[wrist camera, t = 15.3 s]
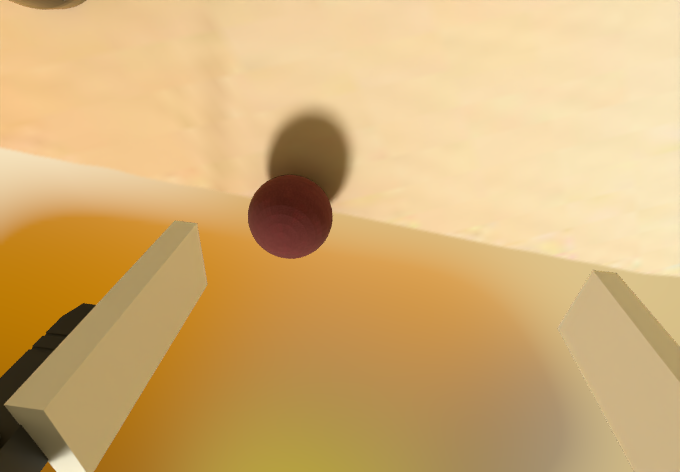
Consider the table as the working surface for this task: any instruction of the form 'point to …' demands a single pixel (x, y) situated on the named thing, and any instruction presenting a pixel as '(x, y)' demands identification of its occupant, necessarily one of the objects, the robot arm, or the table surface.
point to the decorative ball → (290, 216)
